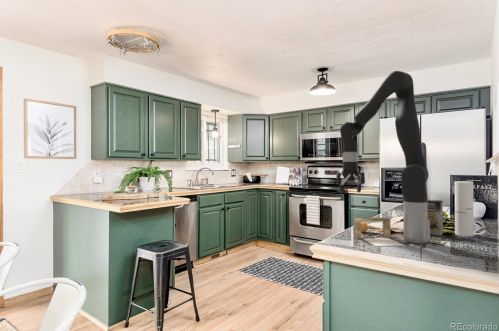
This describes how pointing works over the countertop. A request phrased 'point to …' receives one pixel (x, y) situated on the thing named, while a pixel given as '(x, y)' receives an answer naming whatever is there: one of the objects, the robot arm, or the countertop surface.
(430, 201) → the coffee box
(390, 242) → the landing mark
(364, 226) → the ball
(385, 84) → the robot arm
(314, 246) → the countertop surface
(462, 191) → the cylindrical container
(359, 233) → the bridge
